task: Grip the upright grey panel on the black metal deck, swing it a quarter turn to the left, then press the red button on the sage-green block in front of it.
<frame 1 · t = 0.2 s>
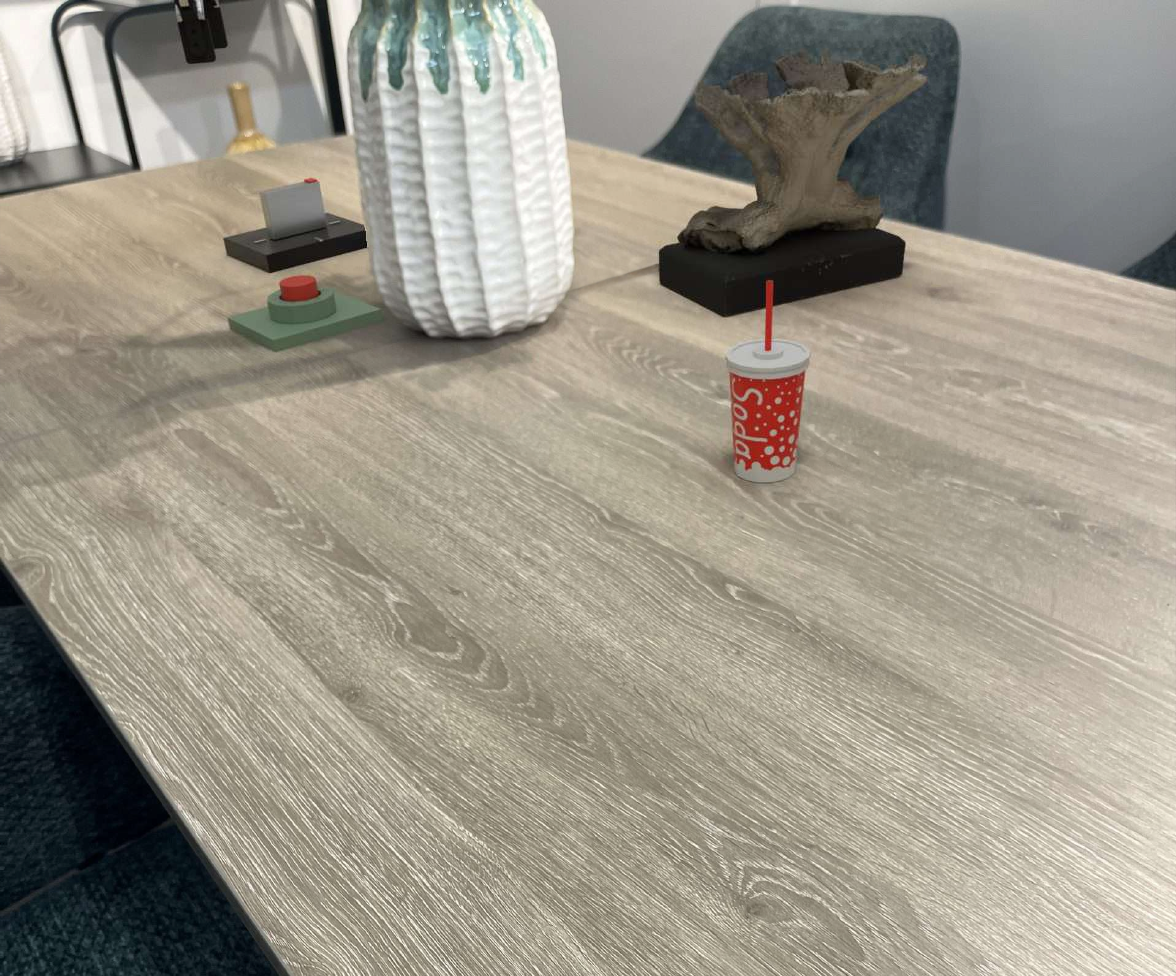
hand: (208, 55, 143), 21 cm above the table, tool pointing down, fingers open, 9 cm apart
beverage cup: (764, 472, 98), on the table
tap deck: (303, 259, 151), on the table
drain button: (299, 289, 126), point 4 cm above the table, slide at 0.1 cm
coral: (807, 286, 132), on the table
upright grey panel: (293, 208, 148), point 6 cm above the table, hinge at 0.0°
button block: (308, 335, 129), on the table
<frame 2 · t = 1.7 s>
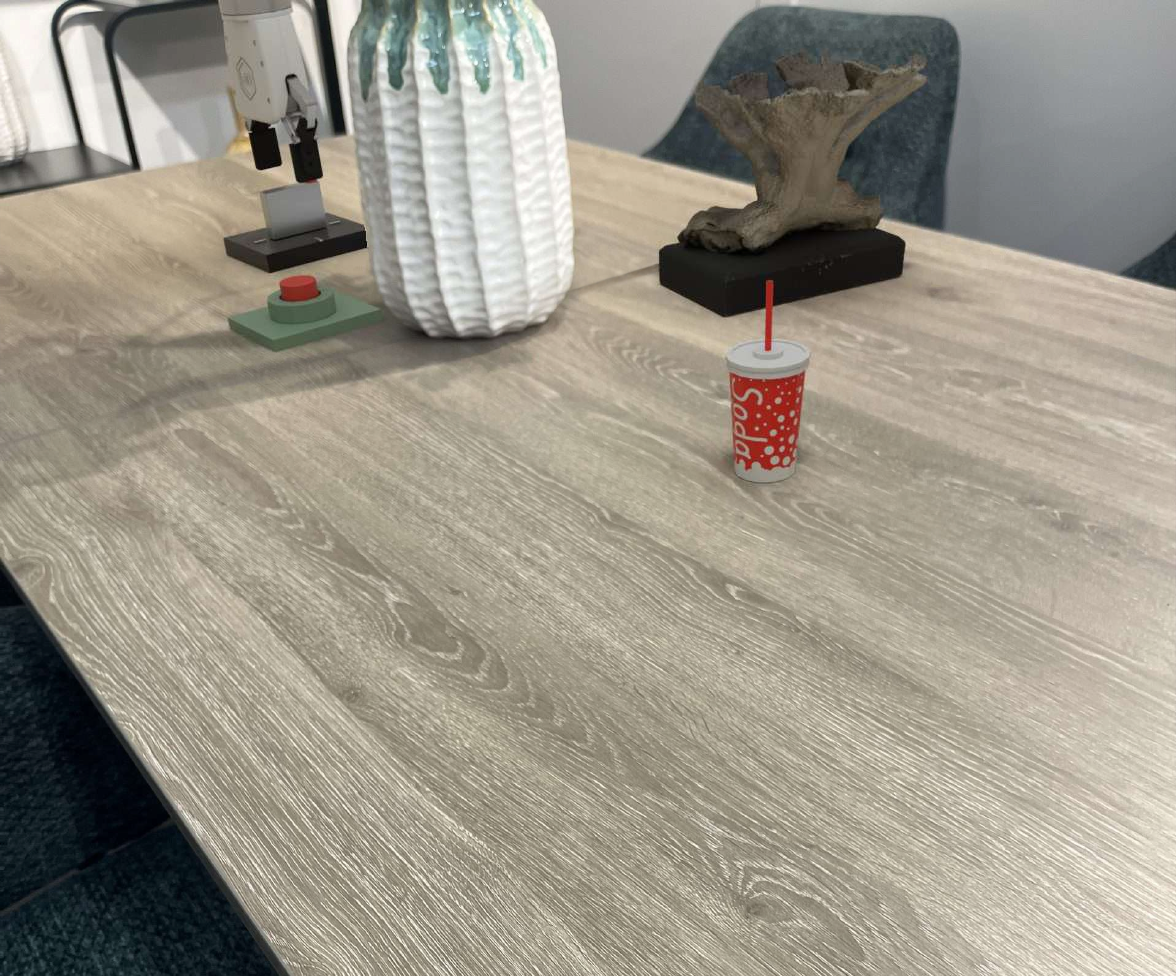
hand: (289, 173, 146), 9 cm above the table, tool pointing down, fingers open, 9 cm apart
nothing on the table moved.
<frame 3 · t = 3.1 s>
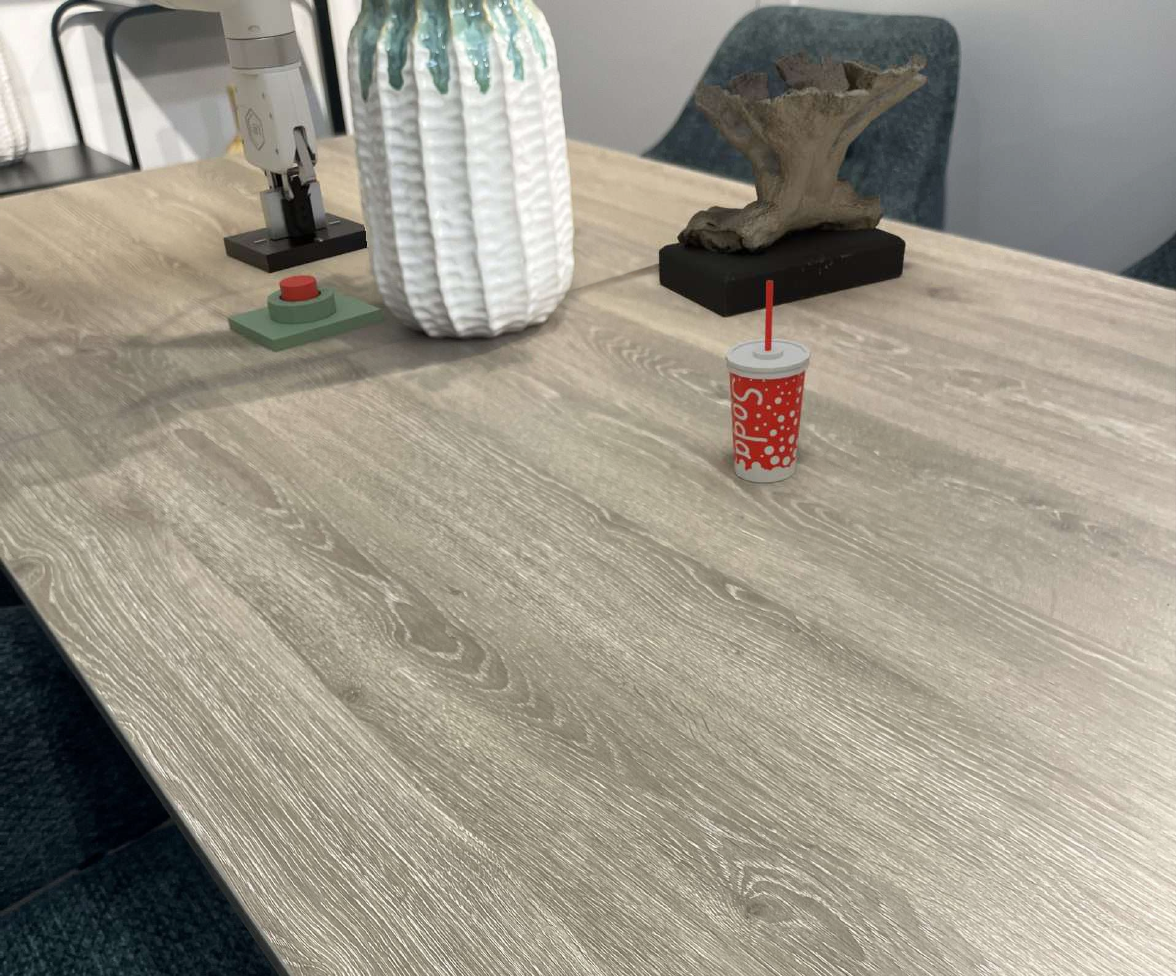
hand: (297, 231, 149), 3 cm above the table, tool pointing down, fingers closed on upright grey panel
upright grey panel: (293, 208, 148), point 6 cm above the table, hinge at 0.0°, touching gripper
everything else where it was.
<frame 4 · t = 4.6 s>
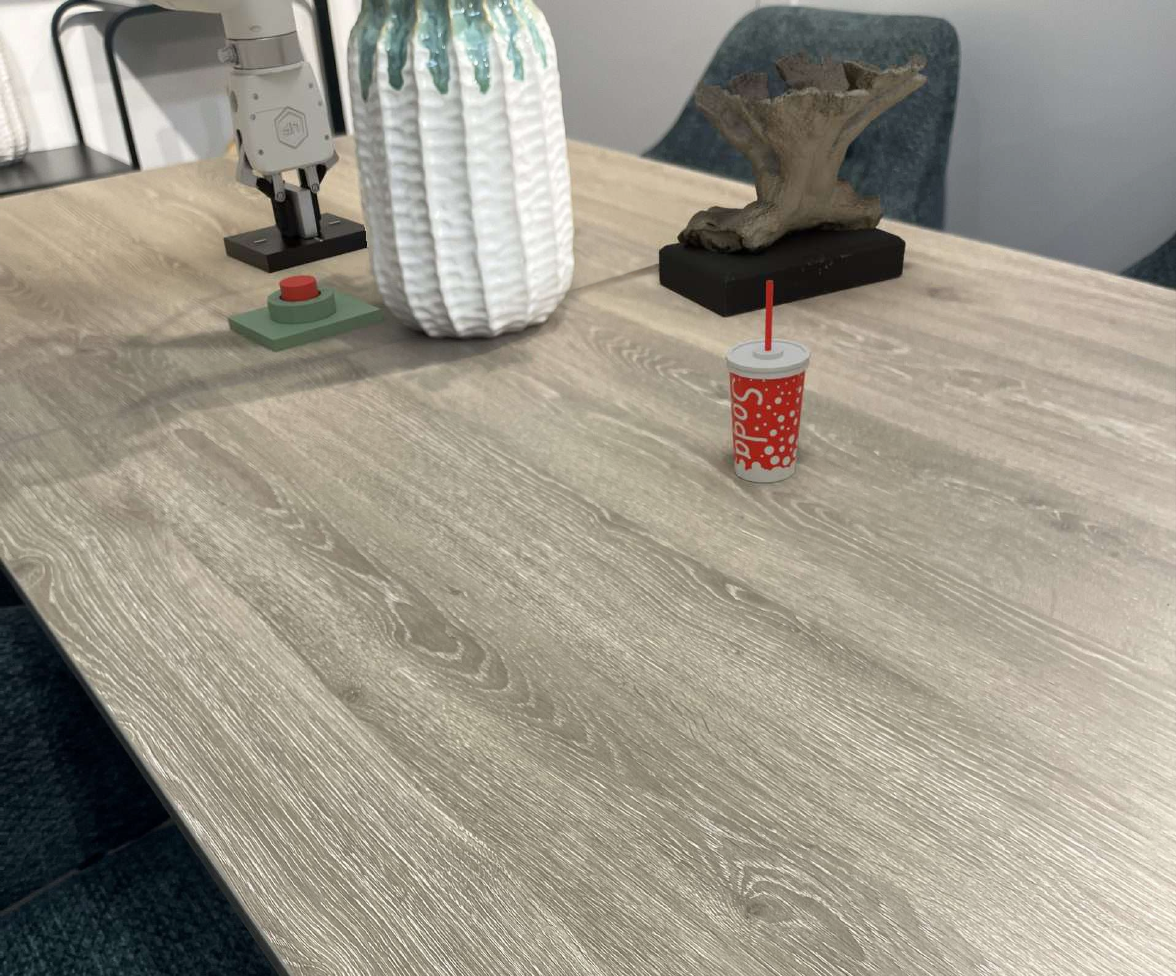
hand: (300, 230, 149), 3 cm above the table, tool pointing down, fingers closed
upright grey panel: (293, 208, 148), point 6 cm above the table, hinge at 89.4°, touching gripper
everything else where it was.
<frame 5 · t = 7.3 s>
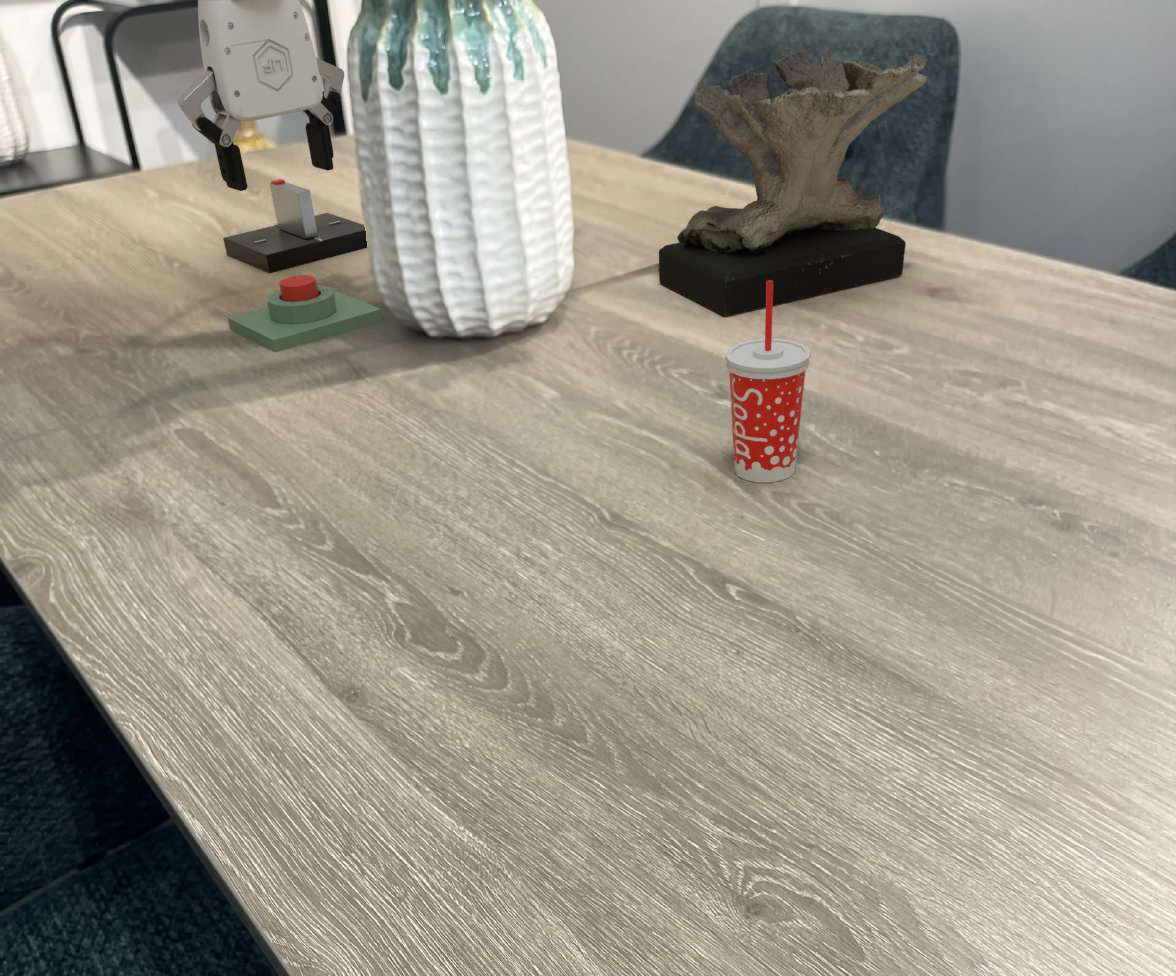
hand: (281, 178, 127), 13 cm above the table, tool pointing down, fingers open, 9 cm apart
upright grey panel: (293, 208, 148), point 6 cm above the table, hinge at 89.4°
everything else where it was.
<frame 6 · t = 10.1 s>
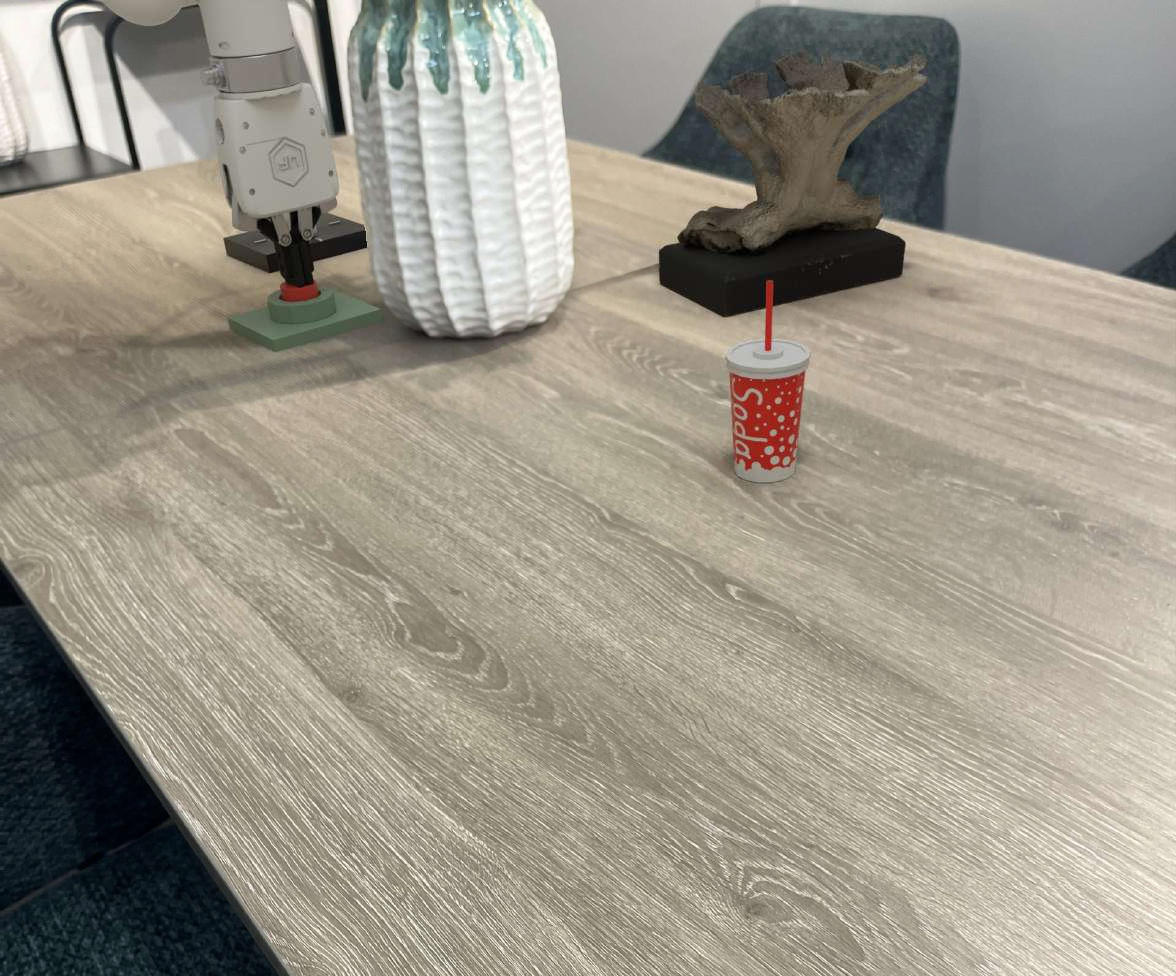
hand: (299, 282, 126), 5 cm above the table, tool pointing down, fingers closed
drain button: (299, 292, 127), point 4 cm above the table, slide at -0.2 cm, touching gripper
everything else where it was.
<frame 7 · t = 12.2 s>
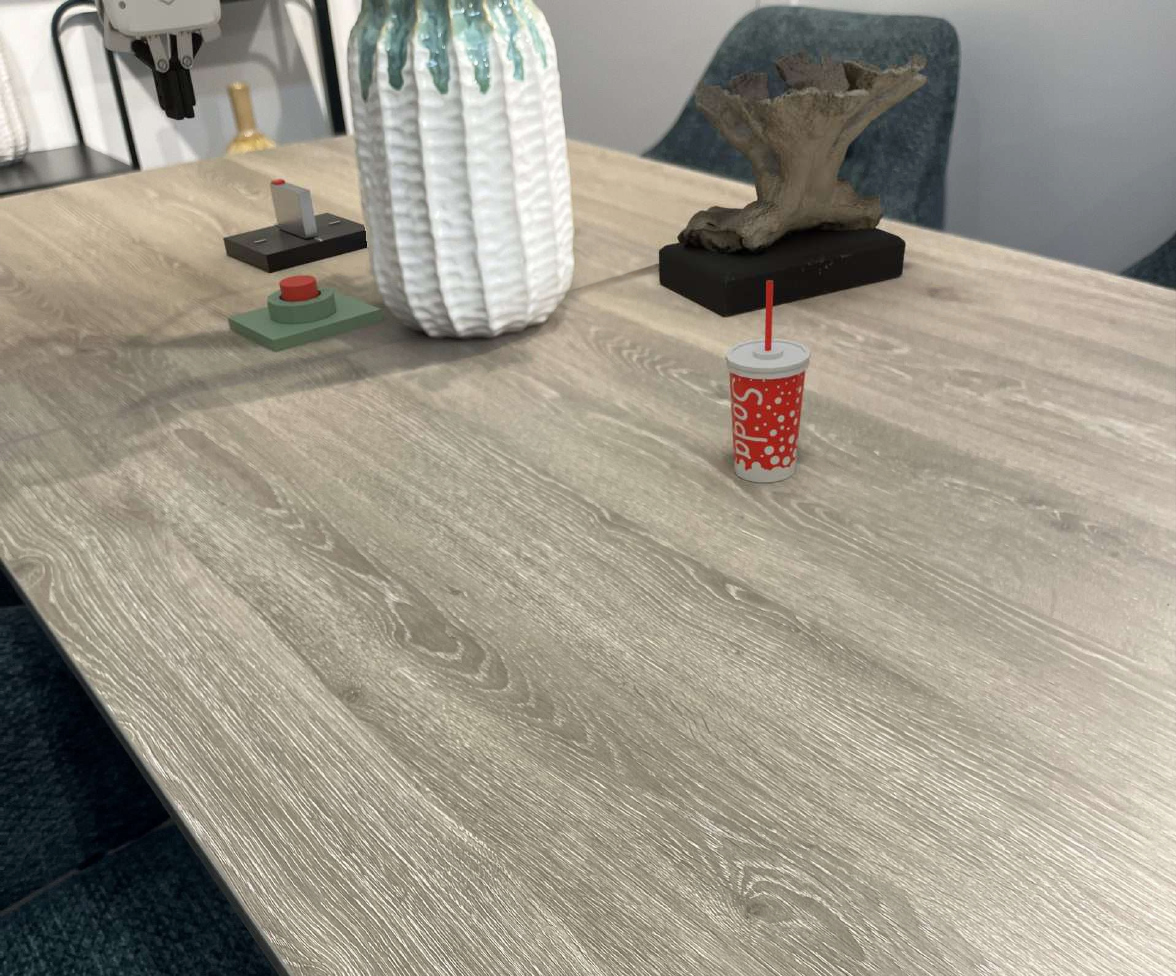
hand: (180, 116, 120), 20 cm above the table, tool pointing down, fingers closed
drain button: (299, 289, 126), point 4 cm above the table, slide at 0.1 cm
everything else where it was.
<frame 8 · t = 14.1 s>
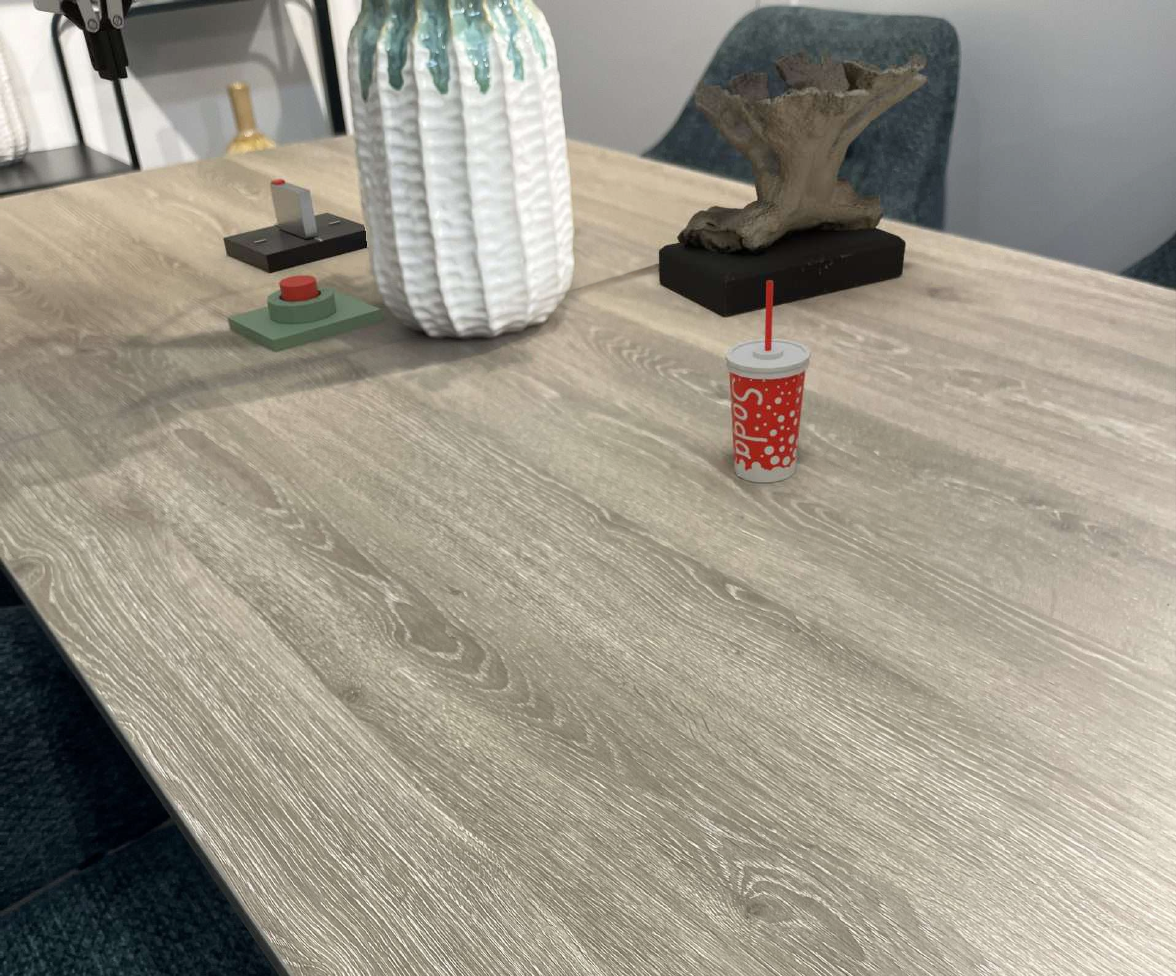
hand: (113, 77, 120), 23 cm above the table, tool pointing down, fingers closed
nothing on the table moved.
at the end: upright grey panel at +89° (first picture: +0°); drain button pushed in 1.1 cm at the most during the clip, back to where it started at the end; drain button slide at 0.1 cm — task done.
